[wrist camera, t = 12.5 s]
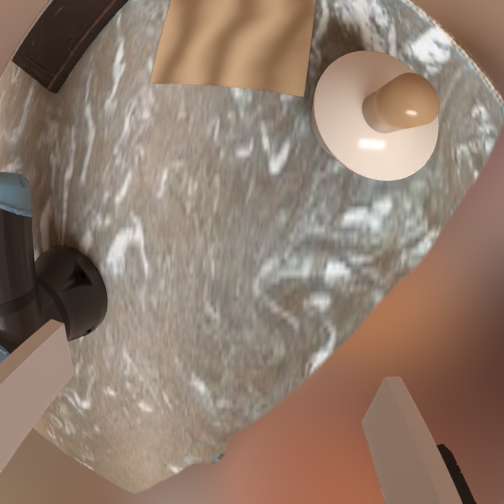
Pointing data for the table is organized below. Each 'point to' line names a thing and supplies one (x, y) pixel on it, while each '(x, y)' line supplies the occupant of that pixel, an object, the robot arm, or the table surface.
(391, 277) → the table surface
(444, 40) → the table surface
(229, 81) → the mat
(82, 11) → the hardcover book
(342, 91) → the lid
